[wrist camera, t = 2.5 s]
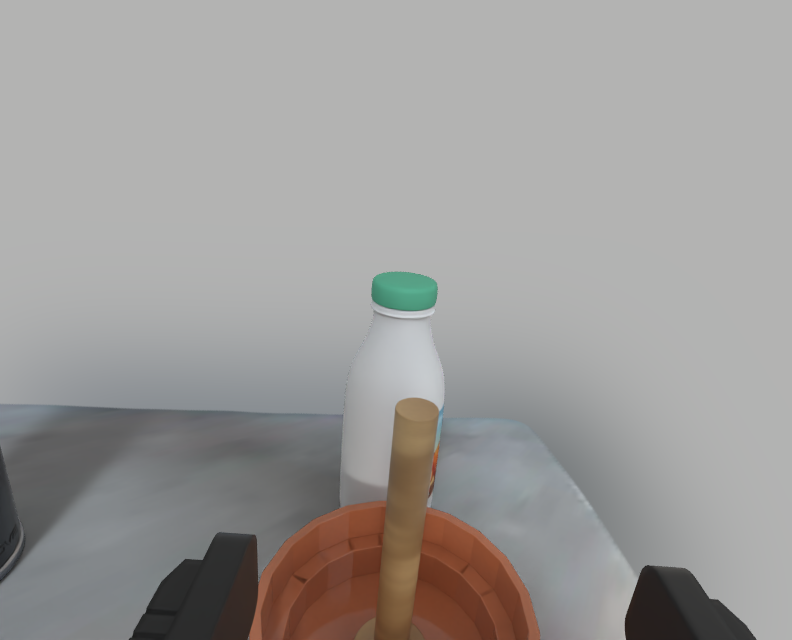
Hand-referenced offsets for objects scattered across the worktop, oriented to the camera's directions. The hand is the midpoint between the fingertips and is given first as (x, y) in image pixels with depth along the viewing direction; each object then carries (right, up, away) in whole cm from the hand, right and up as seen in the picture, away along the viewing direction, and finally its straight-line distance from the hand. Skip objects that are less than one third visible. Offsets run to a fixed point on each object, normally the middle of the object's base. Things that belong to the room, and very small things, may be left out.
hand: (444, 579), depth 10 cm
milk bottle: (-2, -11, +30) cm, 32 cm away
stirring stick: (-1, -14, +17) cm, 23 cm away
